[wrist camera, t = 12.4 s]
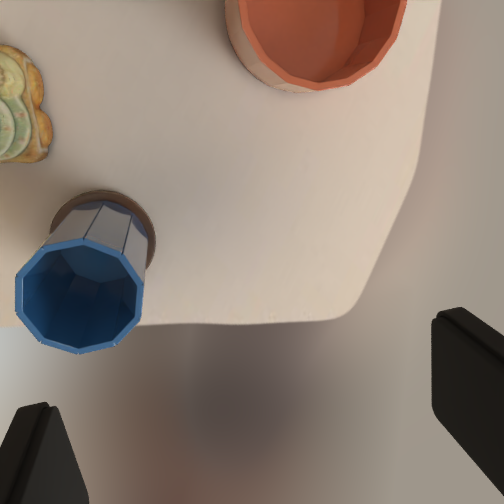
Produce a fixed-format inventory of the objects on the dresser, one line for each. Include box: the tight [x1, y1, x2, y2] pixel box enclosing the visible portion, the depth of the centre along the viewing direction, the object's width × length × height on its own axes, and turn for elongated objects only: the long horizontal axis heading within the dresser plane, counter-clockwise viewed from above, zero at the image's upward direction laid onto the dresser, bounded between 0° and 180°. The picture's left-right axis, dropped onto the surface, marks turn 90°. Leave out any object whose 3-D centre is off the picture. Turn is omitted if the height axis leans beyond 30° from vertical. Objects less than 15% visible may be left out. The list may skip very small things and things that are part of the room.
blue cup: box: [15, 200, 148, 354], centre depth 31 cm, size 7×7×11 cm
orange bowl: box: [225, 0, 407, 93], centre depth 31 cm, size 11×11×6 cm
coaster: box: [49, 191, 156, 269], centre depth 36 cm, size 8×8×1 cm
